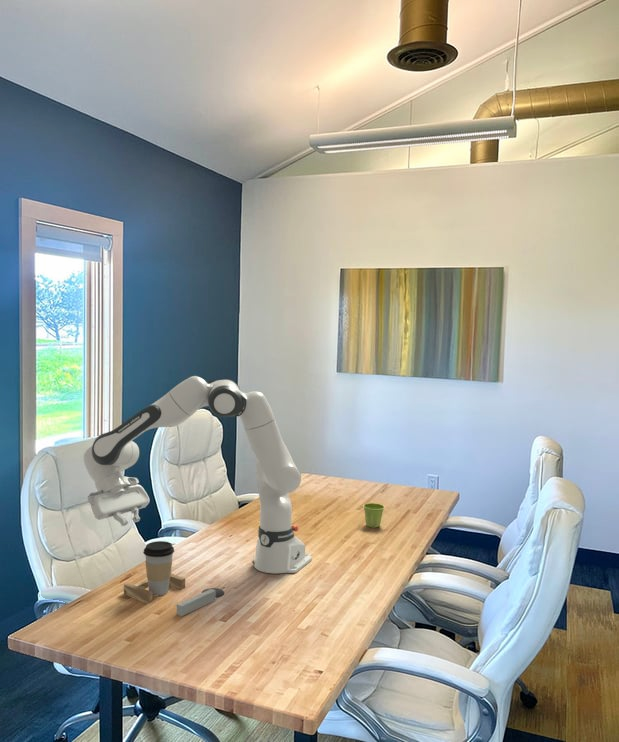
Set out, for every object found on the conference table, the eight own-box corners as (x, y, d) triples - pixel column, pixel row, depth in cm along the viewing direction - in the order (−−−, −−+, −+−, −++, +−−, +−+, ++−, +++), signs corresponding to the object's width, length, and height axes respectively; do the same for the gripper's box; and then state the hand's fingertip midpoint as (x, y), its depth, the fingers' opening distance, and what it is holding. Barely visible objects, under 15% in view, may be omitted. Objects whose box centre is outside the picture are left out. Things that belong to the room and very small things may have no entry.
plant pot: (383, 523, 274) (384, 503, 273) (384, 529, 265) (385, 509, 264) (362, 521, 275) (363, 502, 274) (362, 528, 265) (362, 508, 265)
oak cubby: (161, 578, 206) (162, 569, 206) (185, 587, 200) (185, 578, 199) (123, 593, 193) (124, 584, 193) (147, 603, 187) (147, 594, 187)
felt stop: (210, 598, 192) (210, 588, 192) (215, 600, 191) (215, 590, 191) (176, 614, 181) (177, 604, 181) (181, 616, 180) (181, 606, 179)
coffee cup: (178, 588, 199) (179, 542, 198) (164, 600, 190) (165, 552, 189) (152, 584, 201) (153, 538, 200) (136, 595, 192) (137, 548, 191)
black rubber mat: (212, 586, 201) (212, 586, 201) (228, 592, 197) (228, 592, 197) (196, 594, 195) (196, 593, 195) (213, 600, 191) (213, 599, 191)
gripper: (89, 488, 197) (109, 525, 192) (141, 477, 214) (160, 510, 209) (81, 499, 200) (100, 536, 195) (132, 487, 217) (150, 521, 212)
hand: (131, 522), depth 202 cm, fingers open, 3 cm apart
